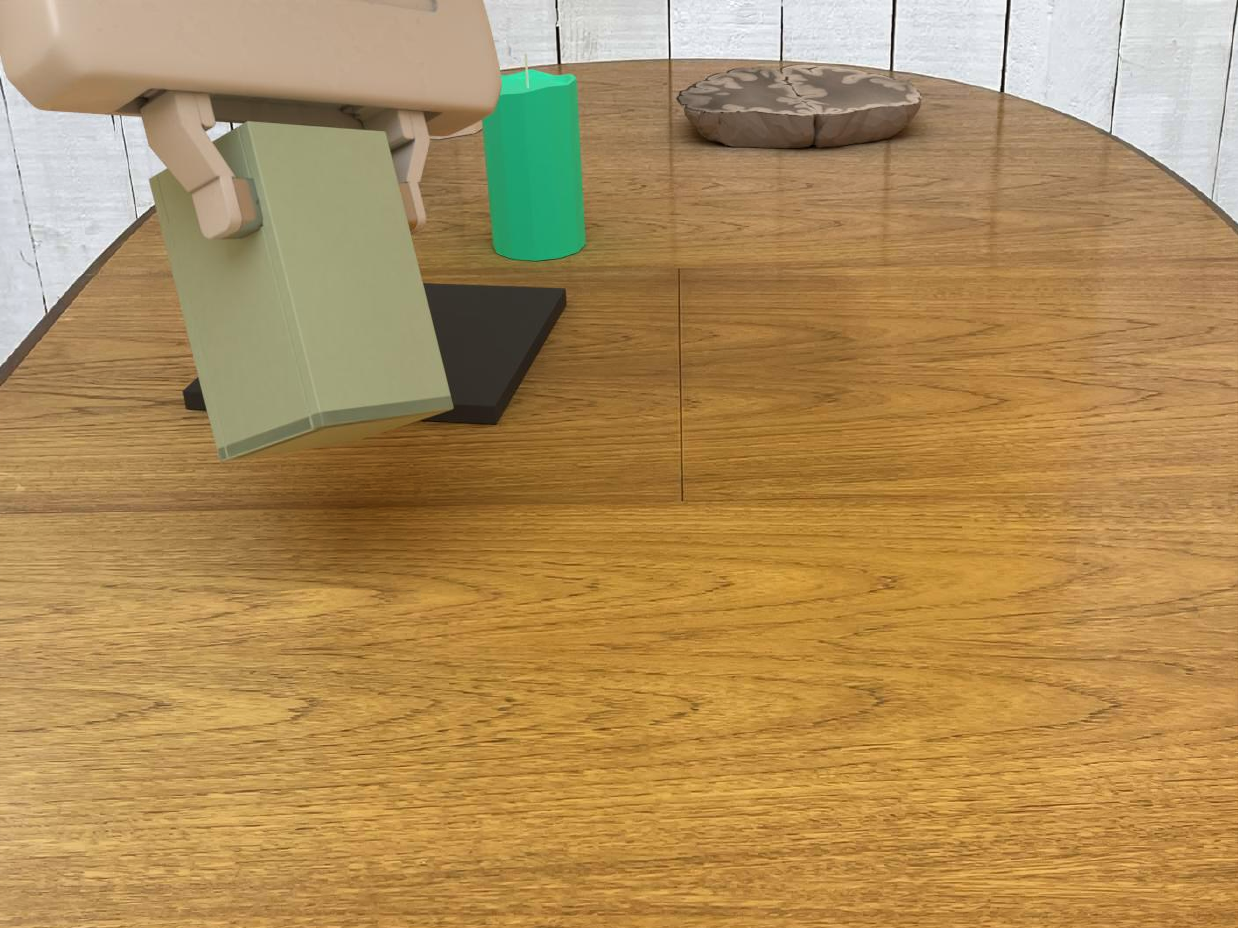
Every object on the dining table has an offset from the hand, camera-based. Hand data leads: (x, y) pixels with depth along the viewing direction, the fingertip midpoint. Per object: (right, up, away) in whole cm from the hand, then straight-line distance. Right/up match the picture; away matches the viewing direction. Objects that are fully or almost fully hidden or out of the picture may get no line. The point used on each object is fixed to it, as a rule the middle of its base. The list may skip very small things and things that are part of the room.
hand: (324, 234), depth 53 cm
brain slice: (+22, +22, +64) cm, 71 cm away
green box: (-1, -2, +1) cm, 3 cm away
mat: (-3, -2, +24) cm, 24 cm away
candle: (+4, +7, +39) cm, 40 cm away
